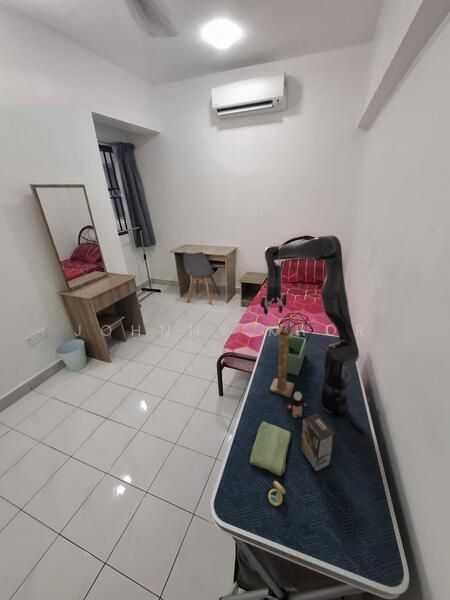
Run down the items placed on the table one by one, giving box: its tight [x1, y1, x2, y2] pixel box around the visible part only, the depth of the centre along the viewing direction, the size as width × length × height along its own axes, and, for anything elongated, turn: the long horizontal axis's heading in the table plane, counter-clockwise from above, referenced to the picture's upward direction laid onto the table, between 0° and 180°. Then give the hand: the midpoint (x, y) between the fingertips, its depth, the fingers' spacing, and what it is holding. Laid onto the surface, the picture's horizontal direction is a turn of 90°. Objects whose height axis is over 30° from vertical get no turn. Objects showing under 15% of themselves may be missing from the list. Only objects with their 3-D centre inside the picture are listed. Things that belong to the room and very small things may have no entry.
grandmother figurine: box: [288, 391, 307, 418], centre depth 101 cm, size 8×4×13 cm, turn 109°
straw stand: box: [269, 324, 296, 398], centre depth 110 cm, size 10×8×35 cm
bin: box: [287, 335, 307, 376], centre depth 131 cm, size 11×18×12 cm, turn 153°
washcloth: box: [249, 421, 292, 477], centre depth 90 cm, size 13×18×3 cm
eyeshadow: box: [267, 480, 287, 507], centre depth 76 cm, size 4×5×5 cm
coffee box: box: [300, 412, 336, 472], centre depth 84 cm, size 9×6×16 cm
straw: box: [283, 317, 293, 334], centre depth 106 cm, size 1×13×1 cm, turn 153°
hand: (273, 313), depth 130 cm, fingers open, 8 cm apart
